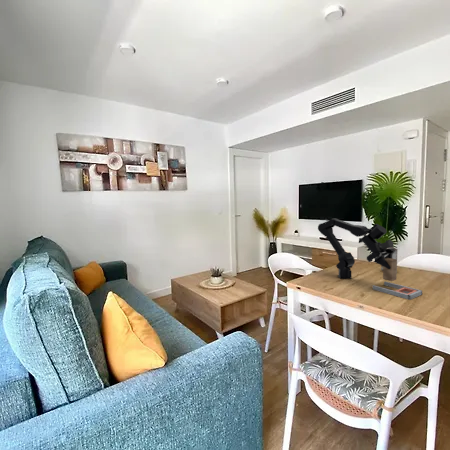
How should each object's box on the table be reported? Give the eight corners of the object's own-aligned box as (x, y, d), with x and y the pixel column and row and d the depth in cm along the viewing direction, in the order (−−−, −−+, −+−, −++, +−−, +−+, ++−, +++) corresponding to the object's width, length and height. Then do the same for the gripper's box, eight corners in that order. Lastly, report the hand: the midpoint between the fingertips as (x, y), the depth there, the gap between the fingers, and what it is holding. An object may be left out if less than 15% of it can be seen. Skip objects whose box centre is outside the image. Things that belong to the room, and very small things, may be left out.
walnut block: (382, 279, 134) (383, 259, 133) (387, 277, 136) (387, 257, 135) (391, 281, 130) (392, 260, 129) (396, 279, 132) (396, 259, 131)
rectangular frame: (394, 294, 127) (394, 291, 127) (404, 290, 132) (404, 287, 132) (408, 298, 122) (408, 294, 122) (417, 294, 126) (417, 290, 126)
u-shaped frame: (372, 289, 136) (372, 285, 136) (384, 284, 142) (385, 281, 141) (409, 299, 120) (409, 295, 120) (422, 294, 126) (422, 290, 126)
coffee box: (380, 269, 170) (381, 246, 169) (391, 269, 169) (391, 246, 167) (386, 273, 161) (386, 249, 160) (397, 273, 160) (398, 249, 158)
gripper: (372, 237, 130) (394, 262, 121) (392, 233, 139) (414, 256, 130) (358, 249, 138) (378, 274, 129) (377, 245, 147) (397, 267, 138)
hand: (392, 267), depth 131 cm, fingers closed on walnut block, 4 cm apart
